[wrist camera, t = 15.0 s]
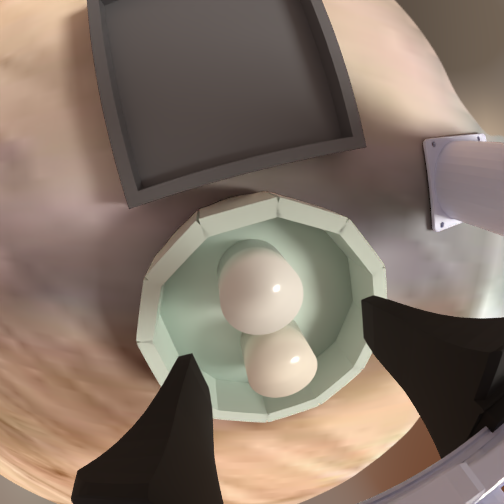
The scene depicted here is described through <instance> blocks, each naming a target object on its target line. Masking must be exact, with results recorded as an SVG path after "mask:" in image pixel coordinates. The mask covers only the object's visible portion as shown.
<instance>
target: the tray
mask: <svg viewBox="0 0 504 504" xmlns="http://www.w3.org/2000/svg"><path fill="white" fill-rule="evenodd" d="M87 7H88V18H89V28H90V37H91V45H92V52H93V59H94V65H95V71H96V77H97V83H98V88H99V94H100V99H101V104H102V109H103V113H104V118H105V122H106V127H107V131H108V135H109V139H110V143H111V147H112V151H113V155H114V159H115V163H116V166H117V170H118V174H119V177H120V181H121V184H122V187H123V191H124V194H125V197H126V201H127V204H128V207H129V209H131V208H134V207H137V206H140V205H143V204H146V203H149V202H152V201H155V200H158V199H161V198H164V197H167V196H170V195H173V194H176V193H180V192H183V191H186V190H189V189H193V188H196V187H199V186H203V185H206V184H210V183H213V182H217V181H220V180H224V179H227V178H231V177H235V176H238V175H242V174H246V173H250V172H254V171H258V170H262V169H266V168H270V167H274V166H278V165H282V164H287V163H291V162H295V161H300V160H304V159H309V158H314V157H318V156H323V155H328V154H333V153H338V152H343V151H349V150H354V149H360V148H365V147H366V143H365V138H364V134H363V129H362V125H361V121H360V116H359V112H358V108H357V105H356V101H355V97H354V93H353V90H352V86H351V83H350V79H349V76H348V72H347V69H346V66H345V63H344V59H343V56H342V53H341V50H340V47H339V44H338V42H337V39H336V36H335V33H334V30H333V28H332V25H331V22H330V20H329V17H328V15H327V12H326V10H325V7H324V5H323V2H322V0H87Z"/></svg>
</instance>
